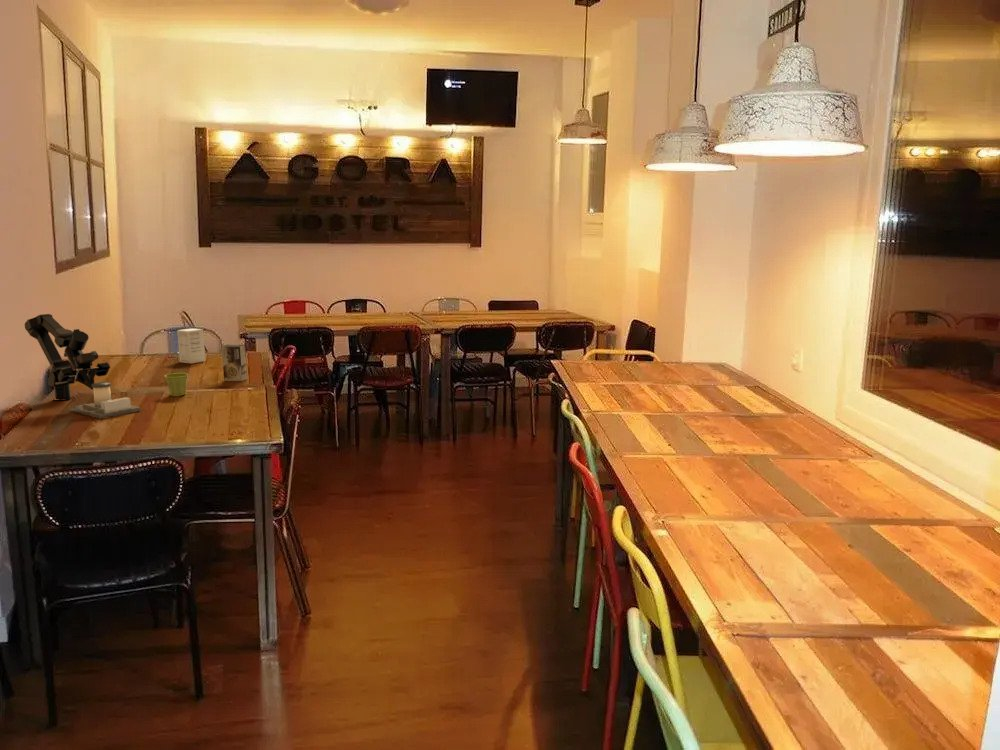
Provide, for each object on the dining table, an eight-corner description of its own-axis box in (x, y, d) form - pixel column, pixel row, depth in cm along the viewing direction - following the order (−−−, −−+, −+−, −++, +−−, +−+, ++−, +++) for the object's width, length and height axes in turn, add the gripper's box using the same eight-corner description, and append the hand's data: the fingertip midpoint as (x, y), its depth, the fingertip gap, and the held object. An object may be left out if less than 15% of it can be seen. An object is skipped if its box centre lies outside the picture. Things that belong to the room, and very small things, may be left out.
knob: (90, 406, 318) (88, 384, 316) (107, 403, 323) (105, 381, 322) (99, 408, 314) (96, 386, 312) (116, 405, 319) (114, 383, 318)
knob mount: (71, 410, 318) (69, 397, 317) (111, 403, 331) (109, 390, 330) (99, 419, 305) (98, 404, 304) (140, 411, 318) (139, 397, 317)
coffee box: (248, 378, 382) (246, 344, 378) (242, 381, 375) (240, 346, 372) (229, 378, 382) (227, 344, 379) (223, 381, 376) (221, 346, 373)
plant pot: (164, 398, 341) (163, 377, 339) (167, 393, 350) (165, 373, 348) (188, 396, 343) (187, 376, 342) (190, 392, 352) (189, 372, 351)
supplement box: (206, 361, 427) (203, 329, 424) (191, 363, 420) (188, 331, 416) (194, 359, 432) (191, 327, 429) (179, 362, 425) (176, 329, 421)
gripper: (57, 348, 314) (75, 379, 310) (105, 342, 329) (122, 372, 324) (50, 366, 320) (67, 397, 316) (97, 359, 335) (114, 389, 330)
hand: (93, 388), depth 321 cm, fingers closed
